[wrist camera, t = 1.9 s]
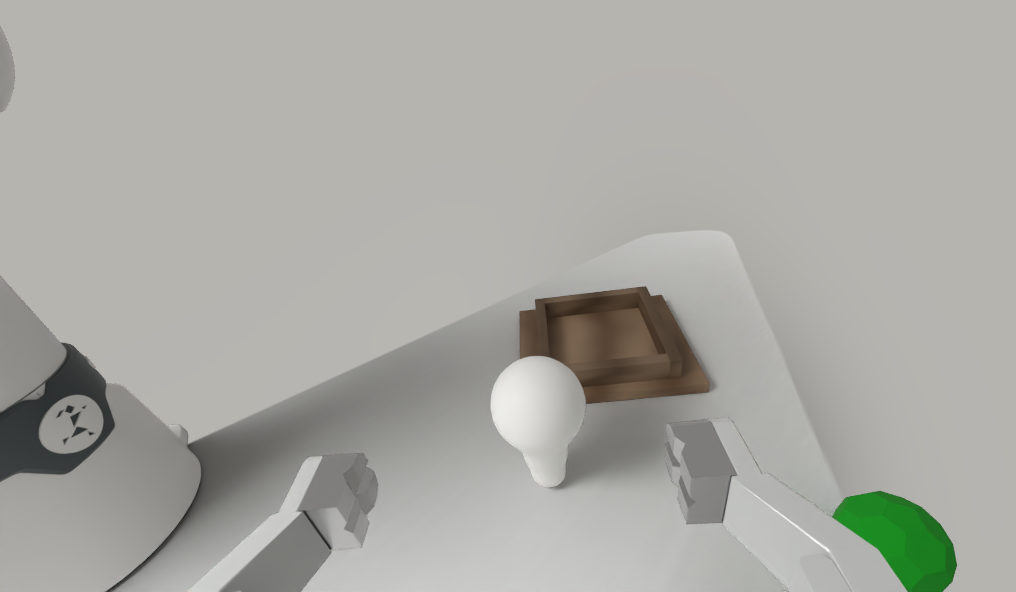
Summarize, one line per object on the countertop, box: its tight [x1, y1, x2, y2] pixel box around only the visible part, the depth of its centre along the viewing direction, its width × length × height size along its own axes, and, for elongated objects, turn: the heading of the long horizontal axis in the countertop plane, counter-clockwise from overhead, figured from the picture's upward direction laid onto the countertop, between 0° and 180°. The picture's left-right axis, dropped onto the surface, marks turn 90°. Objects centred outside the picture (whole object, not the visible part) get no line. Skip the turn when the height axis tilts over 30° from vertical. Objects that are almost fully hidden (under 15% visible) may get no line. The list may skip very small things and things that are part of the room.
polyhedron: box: [832, 491, 957, 592], centre depth 23 cm, size 5×5×5 cm
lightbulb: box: [491, 356, 586, 488], centre depth 29 cm, size 6×6×11 cm
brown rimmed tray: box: [520, 286, 709, 404], centre depth 42 cm, size 16×14×3 cm
